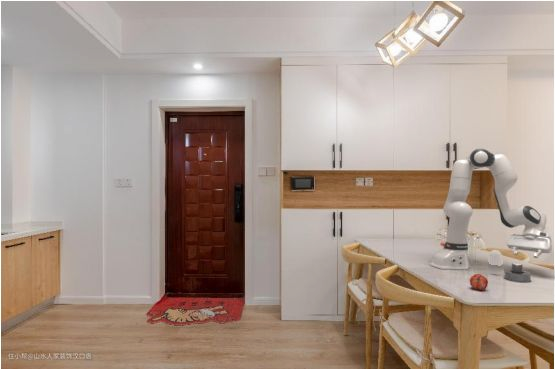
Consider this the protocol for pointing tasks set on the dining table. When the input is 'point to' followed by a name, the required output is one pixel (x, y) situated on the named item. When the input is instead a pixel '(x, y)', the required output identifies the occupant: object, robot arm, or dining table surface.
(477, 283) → the pomegranate
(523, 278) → the grey round ashtray
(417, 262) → the dining table surface
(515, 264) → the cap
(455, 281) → the dining table surface
